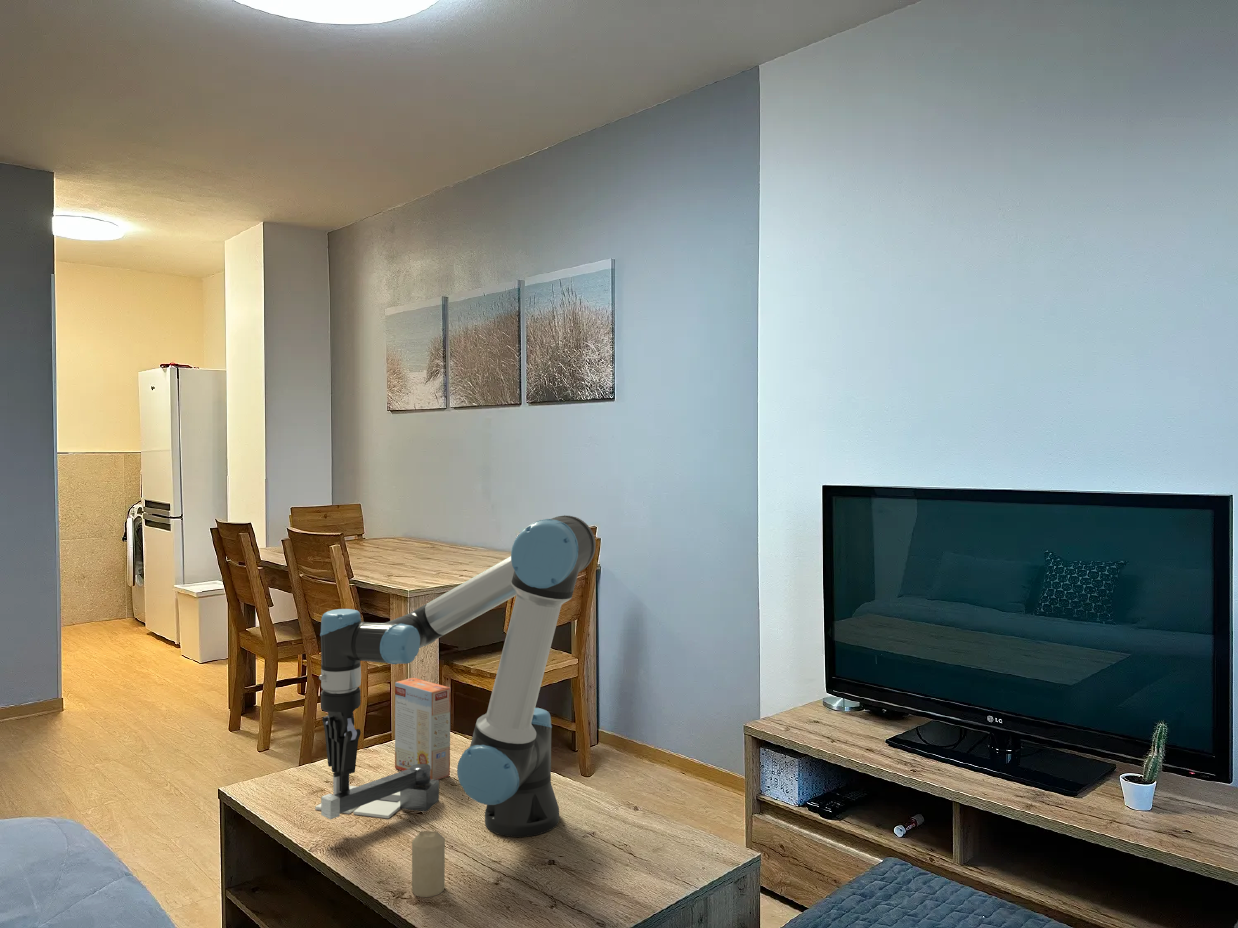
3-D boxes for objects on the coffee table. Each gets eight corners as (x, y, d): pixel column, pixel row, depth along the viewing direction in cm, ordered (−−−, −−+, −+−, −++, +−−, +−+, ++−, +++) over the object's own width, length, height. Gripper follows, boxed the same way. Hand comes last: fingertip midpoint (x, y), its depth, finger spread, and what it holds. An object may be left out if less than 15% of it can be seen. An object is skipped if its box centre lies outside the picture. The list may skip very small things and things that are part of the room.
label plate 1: (378, 791, 194) (378, 787, 194) (349, 813, 183) (349, 809, 183) (346, 787, 196) (346, 784, 196) (315, 809, 185) (315, 805, 185)
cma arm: (421, 777, 190) (421, 760, 190) (434, 782, 188) (434, 765, 188) (319, 813, 171) (319, 795, 171) (332, 820, 168) (332, 801, 168)
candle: (446, 881, 155) (447, 825, 155) (441, 897, 149) (441, 839, 149) (415, 881, 155) (415, 825, 154) (409, 897, 149) (409, 839, 149)
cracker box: (451, 775, 204) (451, 686, 203) (430, 783, 199) (430, 692, 199) (414, 761, 213) (414, 675, 212) (393, 768, 208) (393, 680, 208)
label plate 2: (415, 795, 192) (415, 792, 192) (388, 818, 180) (388, 814, 180) (382, 791, 194) (382, 788, 194) (353, 814, 182) (353, 810, 182)
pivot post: (438, 800, 190) (438, 779, 189) (426, 811, 184) (426, 790, 184) (413, 797, 191) (413, 777, 191) (400, 808, 185) (400, 787, 185)
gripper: (309, 684, 177) (310, 799, 177) (336, 699, 167) (336, 821, 168) (345, 677, 181) (345, 790, 182) (373, 691, 172) (373, 810, 173)
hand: (341, 805), depth 175 cm, fingers closed
